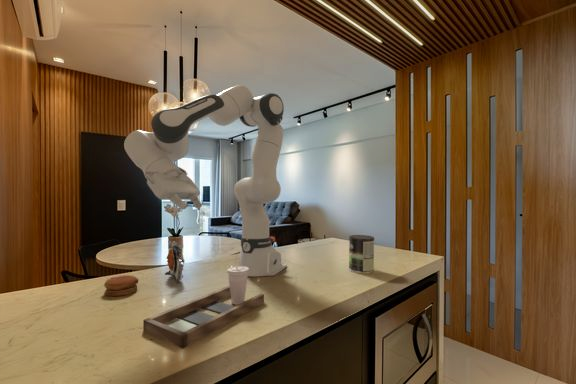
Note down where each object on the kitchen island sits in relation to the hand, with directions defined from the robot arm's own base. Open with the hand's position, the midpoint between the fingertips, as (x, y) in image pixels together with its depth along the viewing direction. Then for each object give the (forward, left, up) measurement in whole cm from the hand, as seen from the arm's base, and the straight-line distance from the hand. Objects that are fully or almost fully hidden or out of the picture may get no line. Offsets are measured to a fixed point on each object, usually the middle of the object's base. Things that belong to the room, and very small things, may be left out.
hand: (192, 207), depth 82 cm
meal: (-10, -23, -28) cm, 37 cm away
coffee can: (-59, +34, -28) cm, 74 cm away
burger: (+8, -25, -28) cm, 38 cm away
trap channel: (+5, +13, -28) cm, 31 cm away
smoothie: (-6, +13, -28) cm, 31 cm away
